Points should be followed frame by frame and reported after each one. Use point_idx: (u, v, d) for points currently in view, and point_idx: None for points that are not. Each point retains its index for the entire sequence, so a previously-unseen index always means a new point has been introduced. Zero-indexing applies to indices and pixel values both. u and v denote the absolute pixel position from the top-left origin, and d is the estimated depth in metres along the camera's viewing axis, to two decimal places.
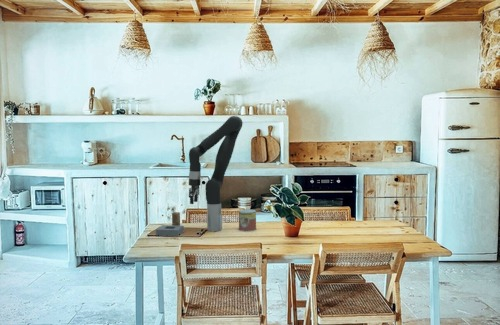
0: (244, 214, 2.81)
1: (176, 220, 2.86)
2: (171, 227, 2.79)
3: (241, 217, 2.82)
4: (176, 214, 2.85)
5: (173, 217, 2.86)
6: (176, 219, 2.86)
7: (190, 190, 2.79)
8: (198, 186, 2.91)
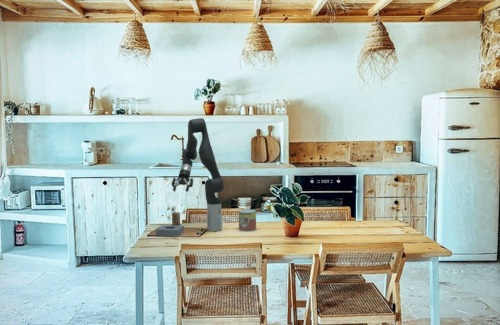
0: (244, 214, 2.81)
1: (176, 220, 2.86)
2: (171, 227, 2.79)
3: (241, 217, 2.82)
4: (176, 214, 2.85)
5: (173, 217, 2.86)
6: (176, 219, 2.86)
7: None
8: (191, 178, 3.01)
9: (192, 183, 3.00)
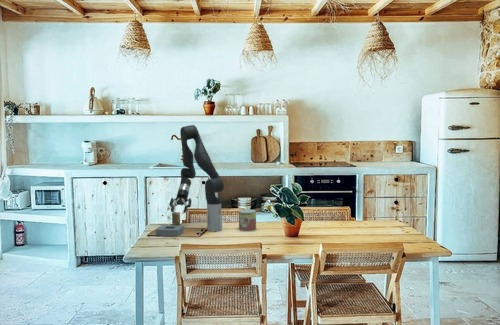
0: (244, 214, 2.81)
1: (176, 220, 2.86)
2: (171, 227, 2.79)
3: (241, 217, 2.82)
4: (176, 214, 2.85)
5: (173, 217, 2.86)
6: (176, 219, 2.86)
7: None
8: (189, 198, 2.97)
9: (190, 203, 2.96)
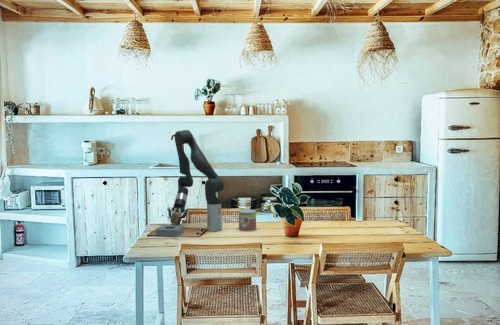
0: (244, 214, 2.81)
1: (176, 220, 2.86)
2: (171, 227, 2.79)
3: (241, 217, 2.82)
4: (176, 214, 2.85)
5: (173, 217, 2.86)
6: (176, 219, 2.86)
7: None
8: (186, 209, 2.91)
9: (185, 215, 2.90)
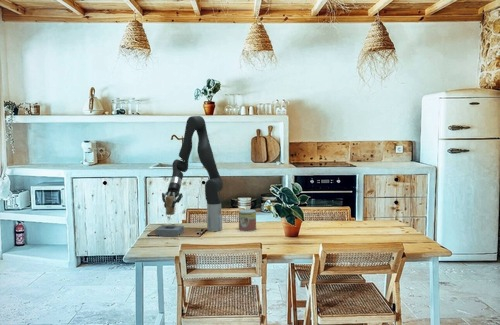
0: (244, 214, 2.81)
1: (170, 204, 2.74)
2: (171, 227, 2.79)
3: (241, 217, 2.82)
4: (170, 198, 2.74)
5: (167, 201, 2.74)
6: (170, 203, 2.74)
7: None
8: (180, 193, 2.79)
9: (180, 199, 2.78)
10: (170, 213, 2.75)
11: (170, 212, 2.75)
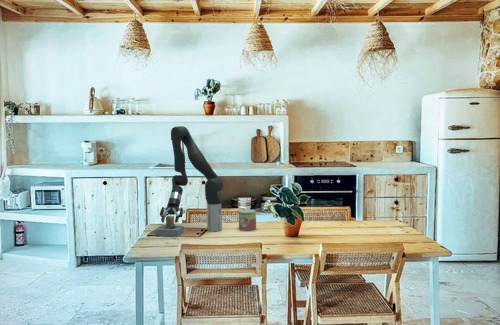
0: (244, 214, 2.81)
1: (170, 224, 2.74)
2: None
3: (241, 217, 2.82)
4: (170, 218, 2.74)
5: (167, 221, 2.74)
6: (170, 223, 2.74)
7: None
8: None
9: (182, 213, 2.78)
10: None
11: None
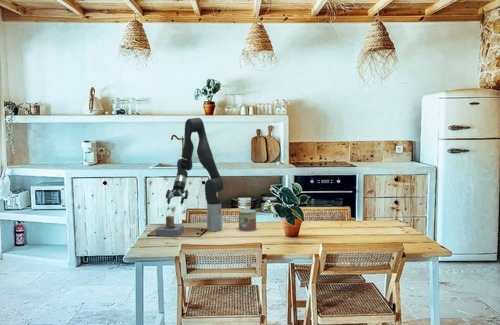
0: (244, 214, 2.81)
1: (170, 224, 2.74)
2: None
3: (241, 217, 2.82)
4: (170, 218, 2.74)
5: (167, 221, 2.74)
6: (170, 223, 2.74)
7: None
8: (186, 190, 2.90)
9: (187, 195, 2.89)
10: None
11: None
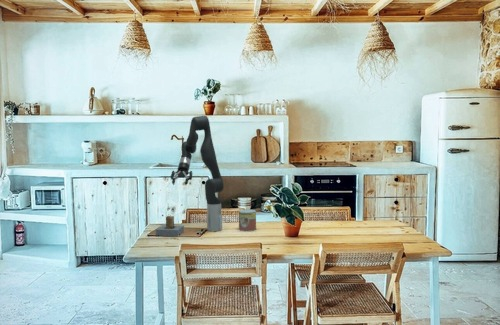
0: (244, 214, 2.81)
1: (170, 224, 2.74)
2: None
3: (241, 217, 2.82)
4: (170, 218, 2.74)
5: (167, 221, 2.74)
6: (170, 223, 2.74)
7: None
8: (190, 171, 2.99)
9: (191, 176, 2.98)
10: None
11: None
